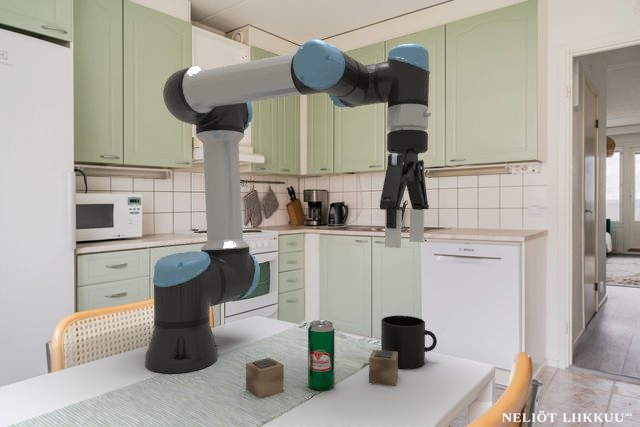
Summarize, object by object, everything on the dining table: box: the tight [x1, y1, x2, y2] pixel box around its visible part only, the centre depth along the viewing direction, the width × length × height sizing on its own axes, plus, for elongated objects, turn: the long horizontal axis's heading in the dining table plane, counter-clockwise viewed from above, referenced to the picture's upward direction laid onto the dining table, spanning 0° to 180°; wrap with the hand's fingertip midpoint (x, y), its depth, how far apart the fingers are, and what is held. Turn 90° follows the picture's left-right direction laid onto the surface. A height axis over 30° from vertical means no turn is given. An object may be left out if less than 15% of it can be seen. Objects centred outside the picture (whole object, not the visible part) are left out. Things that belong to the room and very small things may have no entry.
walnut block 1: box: [245, 357, 285, 399], centre depth 81 cm, size 5×5×5 cm
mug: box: [380, 314, 438, 370], centre depth 96 cm, size 9×12×9 cm
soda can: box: [307, 319, 336, 391], centre depth 83 cm, size 5×5×12 cm
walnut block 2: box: [368, 349, 399, 387], centre depth 86 cm, size 5×5×5 cm
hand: (405, 244), depth 82 cm, fingers open, 13 cm apart
